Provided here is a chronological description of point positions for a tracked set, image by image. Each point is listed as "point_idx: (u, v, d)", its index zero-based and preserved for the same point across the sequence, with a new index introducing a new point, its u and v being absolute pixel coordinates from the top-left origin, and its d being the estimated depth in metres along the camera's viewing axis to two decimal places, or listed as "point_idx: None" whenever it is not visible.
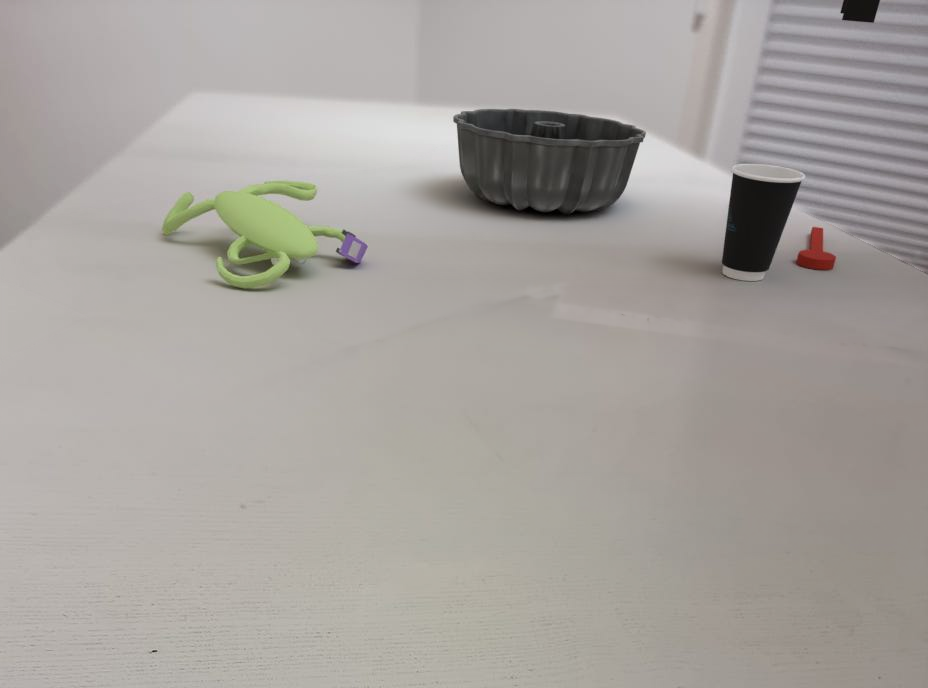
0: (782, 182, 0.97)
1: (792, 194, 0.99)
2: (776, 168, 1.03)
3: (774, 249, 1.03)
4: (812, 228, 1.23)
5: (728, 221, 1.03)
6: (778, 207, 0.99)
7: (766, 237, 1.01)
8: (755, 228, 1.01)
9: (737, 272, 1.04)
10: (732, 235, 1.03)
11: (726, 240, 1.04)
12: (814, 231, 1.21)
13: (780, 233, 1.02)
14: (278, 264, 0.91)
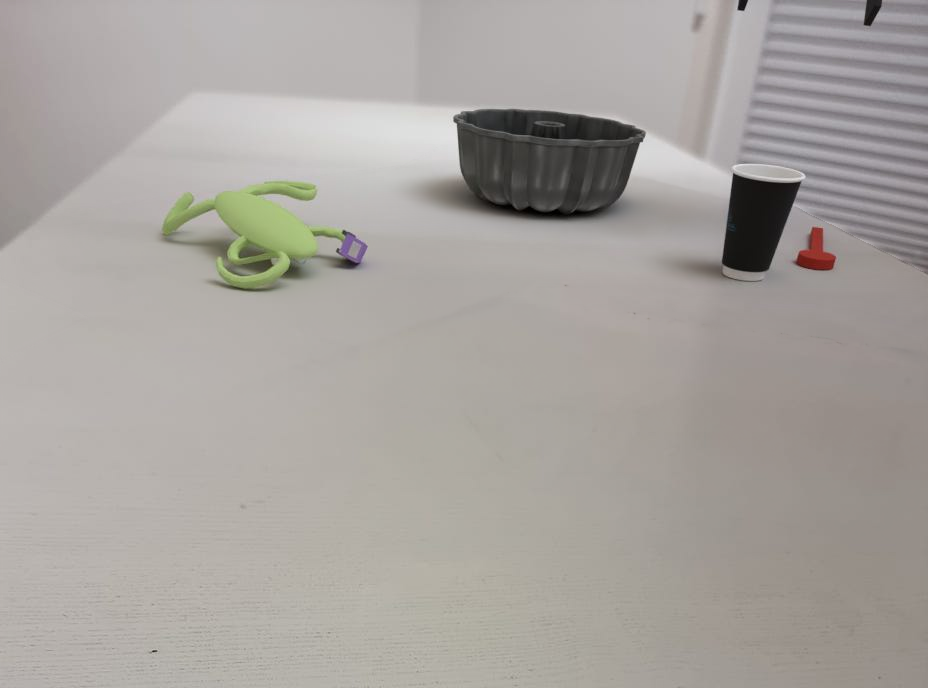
0: (782, 182, 0.97)
1: (792, 194, 0.99)
2: (776, 168, 1.03)
3: (774, 249, 1.03)
4: (812, 228, 1.23)
5: (728, 221, 1.03)
6: (778, 207, 0.99)
7: (766, 237, 1.01)
8: (755, 228, 1.01)
9: (737, 272, 1.04)
10: (732, 235, 1.03)
11: (726, 240, 1.04)
12: (814, 231, 1.21)
13: (780, 233, 1.02)
14: (278, 264, 0.91)
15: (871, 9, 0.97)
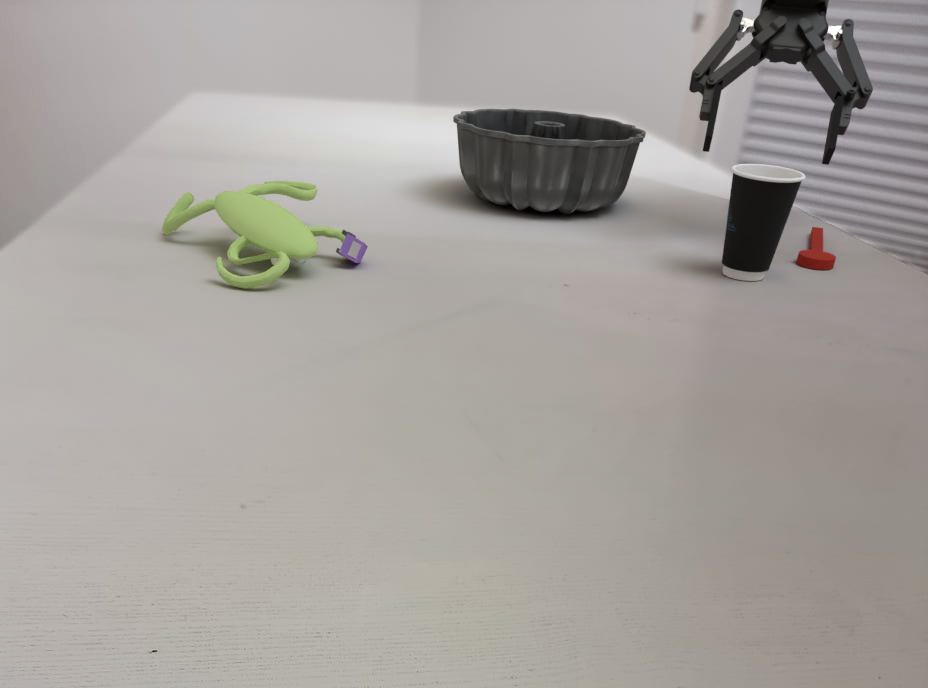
0: (782, 182, 0.97)
1: (792, 194, 0.99)
2: (776, 168, 1.03)
3: (774, 249, 1.03)
4: (812, 228, 1.23)
5: (728, 221, 1.03)
6: (778, 207, 0.99)
7: (766, 237, 1.01)
8: (755, 228, 1.01)
9: (737, 272, 1.04)
10: (732, 235, 1.03)
11: (726, 240, 1.04)
12: (814, 231, 1.21)
13: (780, 233, 1.02)
14: (278, 264, 0.91)
15: (826, 151, 1.03)
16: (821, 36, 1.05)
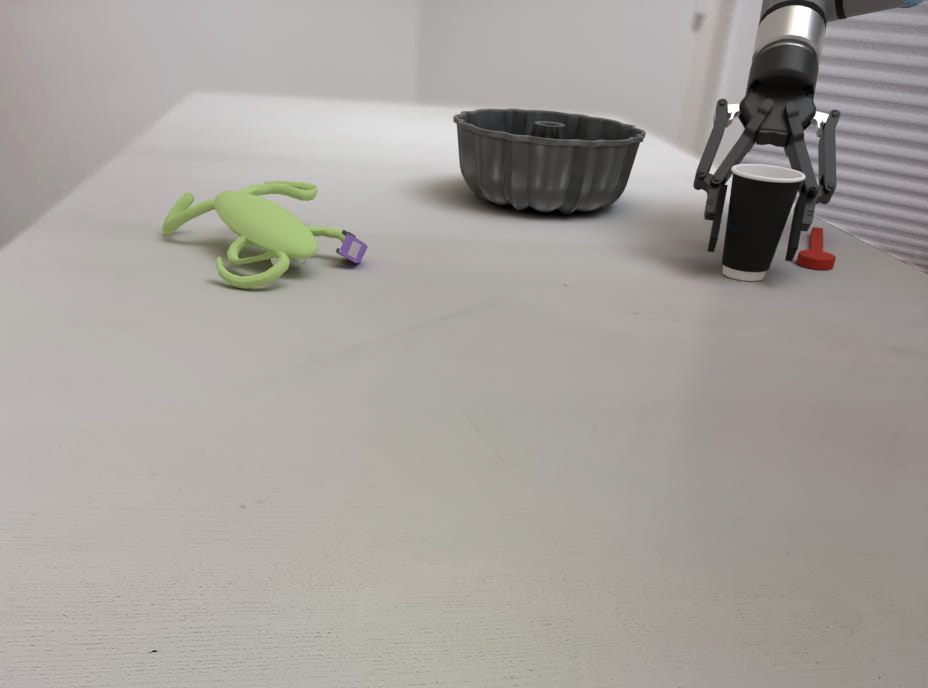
0: (782, 182, 0.97)
1: (792, 194, 0.99)
2: (776, 168, 1.03)
3: (774, 249, 1.03)
4: (812, 228, 1.23)
5: (728, 221, 1.03)
6: (778, 207, 0.99)
7: (766, 237, 1.01)
8: (755, 228, 1.01)
9: (737, 272, 1.04)
10: (732, 235, 1.03)
11: (726, 240, 1.04)
12: (814, 231, 1.21)
13: (780, 233, 1.02)
14: (278, 264, 0.91)
15: (789, 249, 1.01)
16: None
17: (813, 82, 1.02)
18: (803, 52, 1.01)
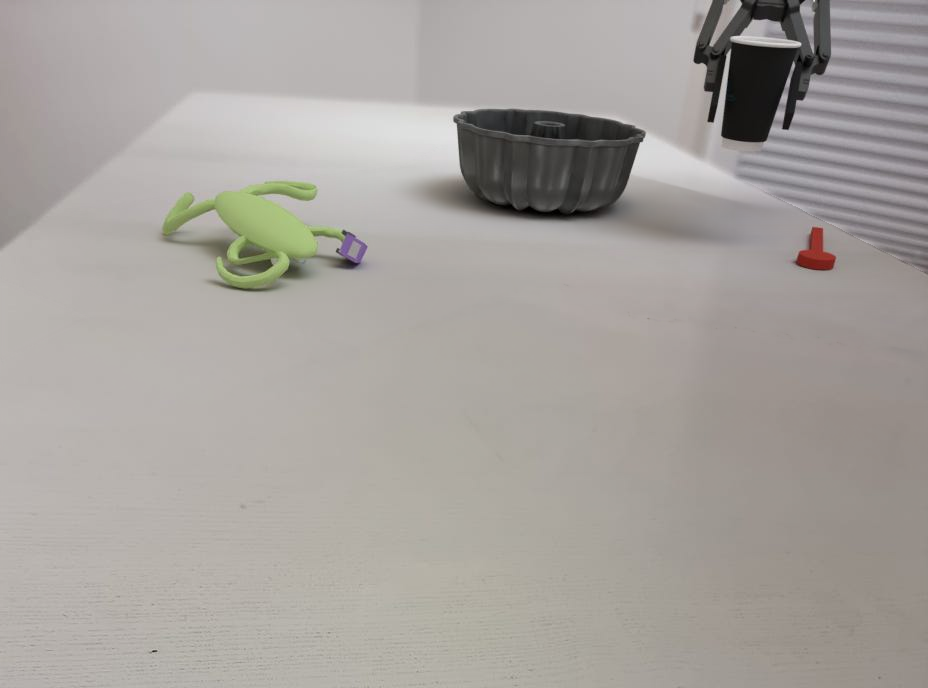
0: (779, 47, 1.01)
1: (789, 61, 1.03)
2: (773, 40, 1.07)
3: (771, 119, 1.07)
4: (812, 228, 1.23)
5: (727, 92, 1.07)
6: (775, 73, 1.03)
7: (764, 105, 1.05)
8: (753, 96, 1.05)
9: (736, 143, 1.08)
10: (731, 105, 1.07)
11: (725, 111, 1.08)
12: (814, 231, 1.21)
13: (777, 103, 1.06)
14: (277, 264, 0.91)
15: (786, 115, 1.05)
16: None
17: None
18: None
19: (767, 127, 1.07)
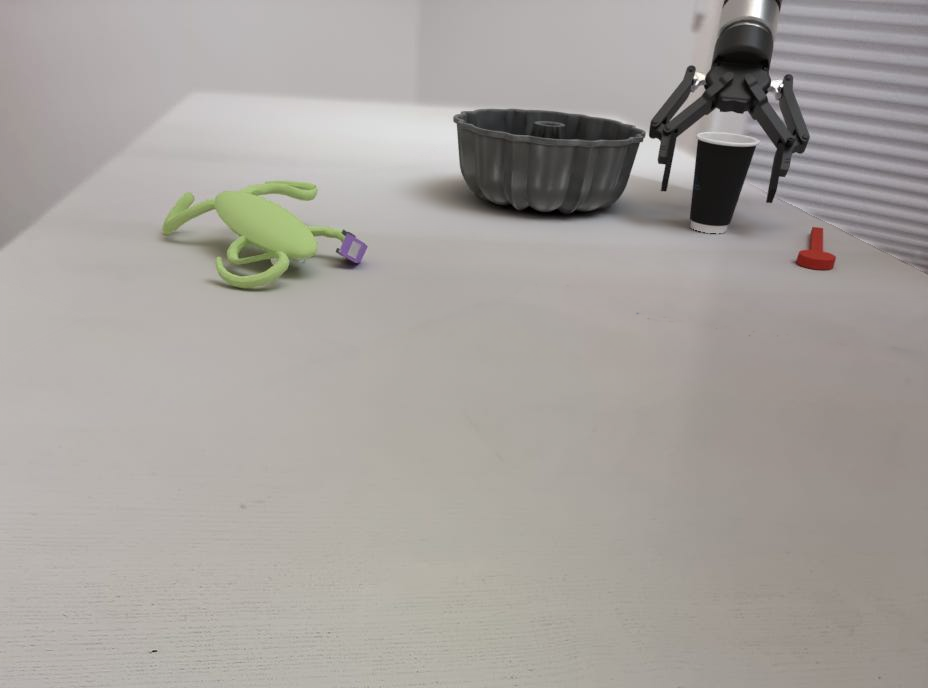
0: (738, 146, 1.14)
1: (748, 157, 1.15)
2: (736, 135, 1.19)
3: (734, 205, 1.20)
4: (812, 228, 1.23)
5: (694, 181, 1.19)
6: (736, 168, 1.16)
7: (726, 194, 1.18)
8: (717, 186, 1.17)
9: (702, 226, 1.21)
10: (697, 193, 1.19)
11: (693, 198, 1.20)
12: (814, 231, 1.21)
13: (739, 192, 1.19)
14: (277, 264, 0.91)
15: (769, 191, 1.17)
16: (765, 89, 1.18)
17: (768, 57, 1.18)
18: (759, 30, 1.17)
19: (730, 213, 1.20)
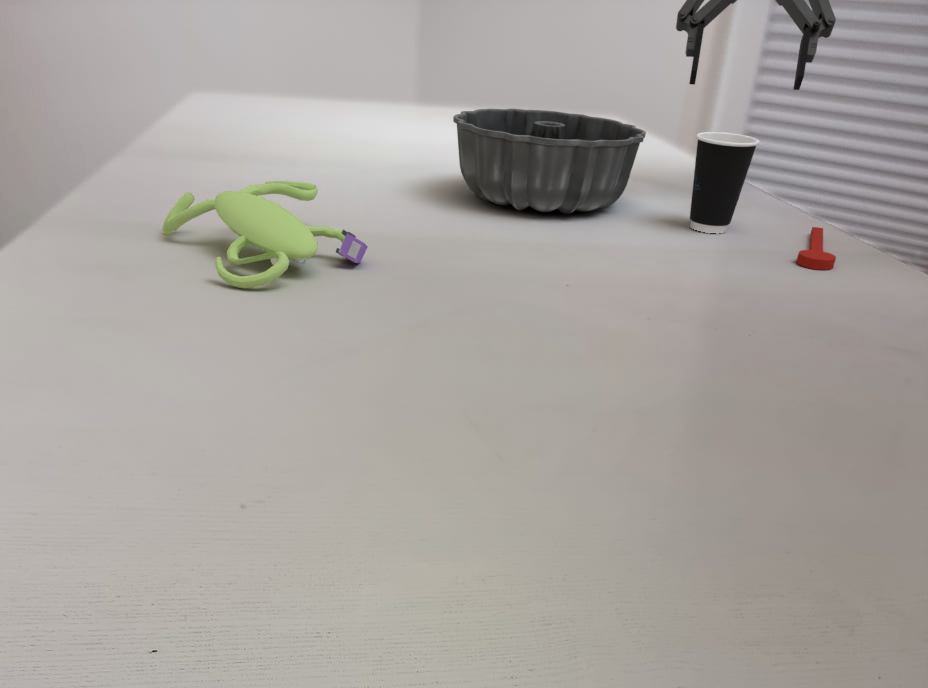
0: (738, 146, 1.14)
1: (748, 157, 1.15)
2: (736, 135, 1.19)
3: (734, 205, 1.20)
4: (812, 228, 1.23)
5: (694, 181, 1.19)
6: (736, 168, 1.16)
7: (726, 194, 1.18)
8: (717, 187, 1.17)
9: (702, 226, 1.21)
10: (697, 193, 1.19)
11: (693, 198, 1.20)
12: (814, 231, 1.21)
13: (739, 192, 1.19)
14: (277, 264, 0.91)
15: (796, 78, 1.19)
16: None
17: None
18: None
19: (730, 213, 1.20)
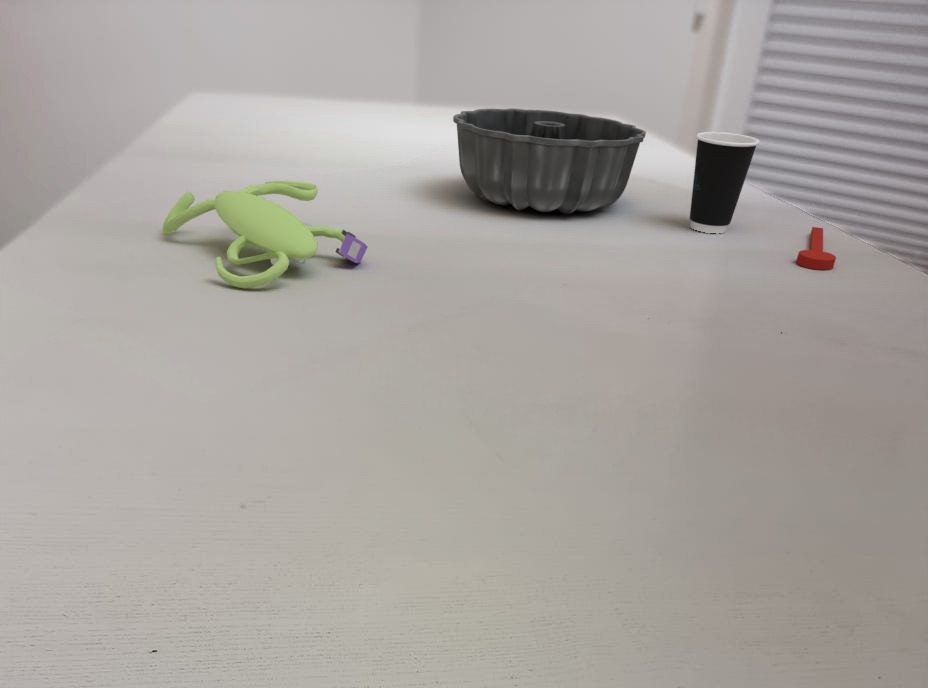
0: (738, 146, 1.14)
1: (748, 157, 1.15)
2: (736, 135, 1.19)
3: (734, 205, 1.20)
4: (812, 228, 1.23)
5: (694, 181, 1.19)
6: (736, 168, 1.16)
7: (726, 194, 1.18)
8: (717, 187, 1.17)
9: (702, 226, 1.21)
10: (697, 193, 1.19)
11: (693, 198, 1.20)
12: (814, 231, 1.21)
13: (739, 192, 1.19)
14: (277, 264, 0.91)
15: None
16: None
17: None
18: None
19: (730, 213, 1.20)
